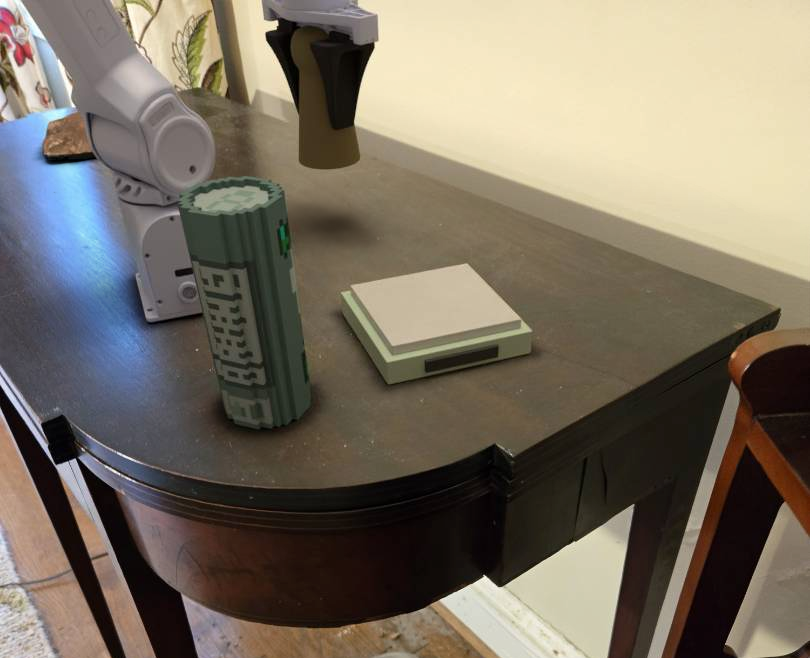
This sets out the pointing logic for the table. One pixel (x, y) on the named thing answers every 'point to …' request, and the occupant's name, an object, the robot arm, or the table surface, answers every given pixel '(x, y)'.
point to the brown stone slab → (66, 139)
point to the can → (248, 297)
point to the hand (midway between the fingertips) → (326, 121)
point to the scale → (433, 323)
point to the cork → (318, 111)
